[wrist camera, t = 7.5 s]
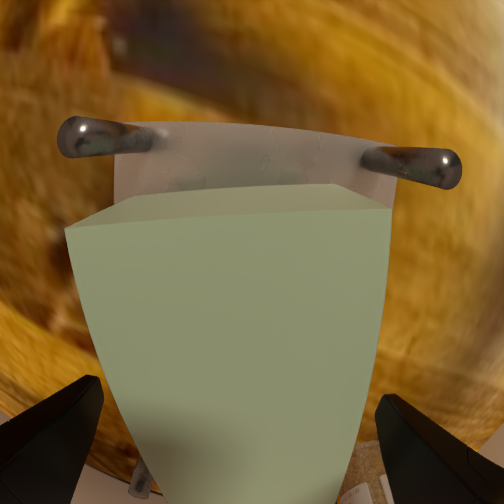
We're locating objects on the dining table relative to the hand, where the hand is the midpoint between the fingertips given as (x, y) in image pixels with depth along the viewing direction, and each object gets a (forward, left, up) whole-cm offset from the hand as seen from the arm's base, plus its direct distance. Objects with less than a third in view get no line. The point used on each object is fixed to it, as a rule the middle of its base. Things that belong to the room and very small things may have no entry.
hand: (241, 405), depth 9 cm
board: (0, 0, -2) cm, 2 cm away
